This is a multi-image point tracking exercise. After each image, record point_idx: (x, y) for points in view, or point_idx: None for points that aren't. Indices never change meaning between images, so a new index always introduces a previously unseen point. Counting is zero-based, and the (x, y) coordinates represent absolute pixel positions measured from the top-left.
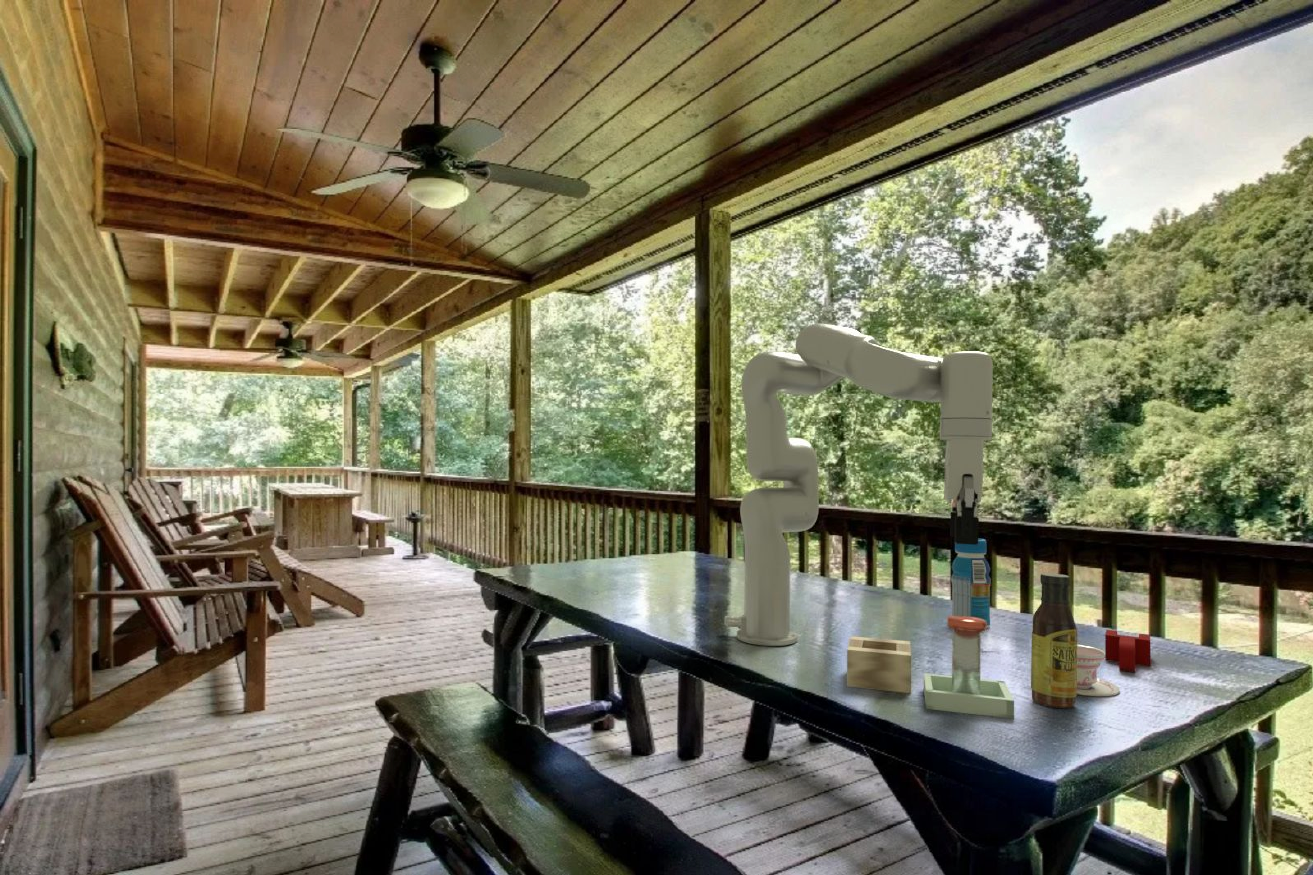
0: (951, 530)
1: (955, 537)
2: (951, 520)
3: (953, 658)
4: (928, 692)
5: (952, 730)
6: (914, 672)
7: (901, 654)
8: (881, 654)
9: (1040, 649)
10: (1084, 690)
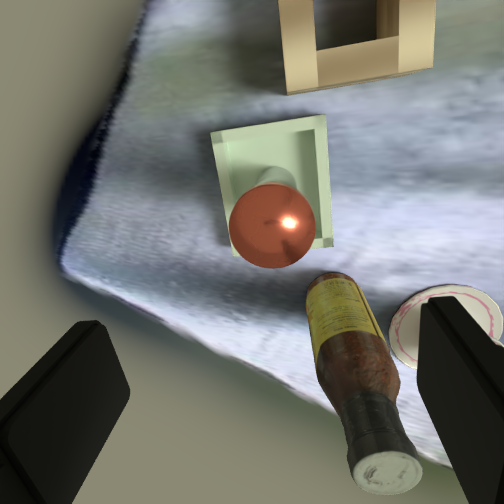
0: (438, 319)
1: (65, 336)
2: (490, 370)
3: (262, 182)
4: (211, 136)
5: (145, 175)
6: (439, 80)
7: (286, 69)
8: (280, 19)
9: (321, 325)
10: (417, 335)
